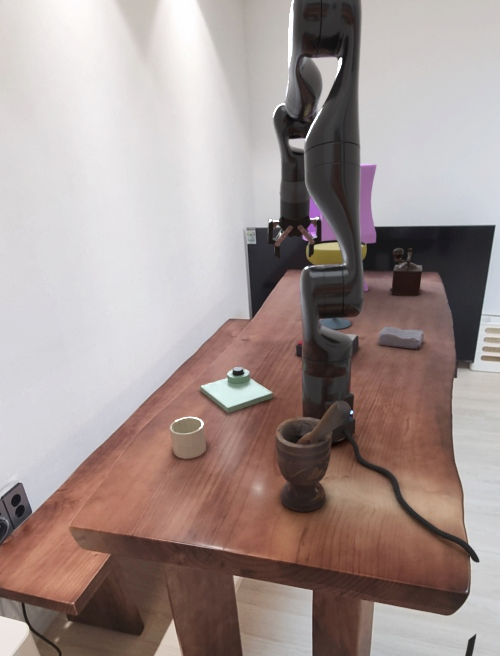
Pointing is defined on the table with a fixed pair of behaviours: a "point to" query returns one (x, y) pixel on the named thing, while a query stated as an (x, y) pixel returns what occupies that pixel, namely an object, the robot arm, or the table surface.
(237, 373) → the button
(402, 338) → the stone block
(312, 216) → the chair
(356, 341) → the calculator
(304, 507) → the mortar and pestle
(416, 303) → the table surface
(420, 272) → the coffee grinder
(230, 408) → the scale
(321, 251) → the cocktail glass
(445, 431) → the table surface
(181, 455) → the cup
